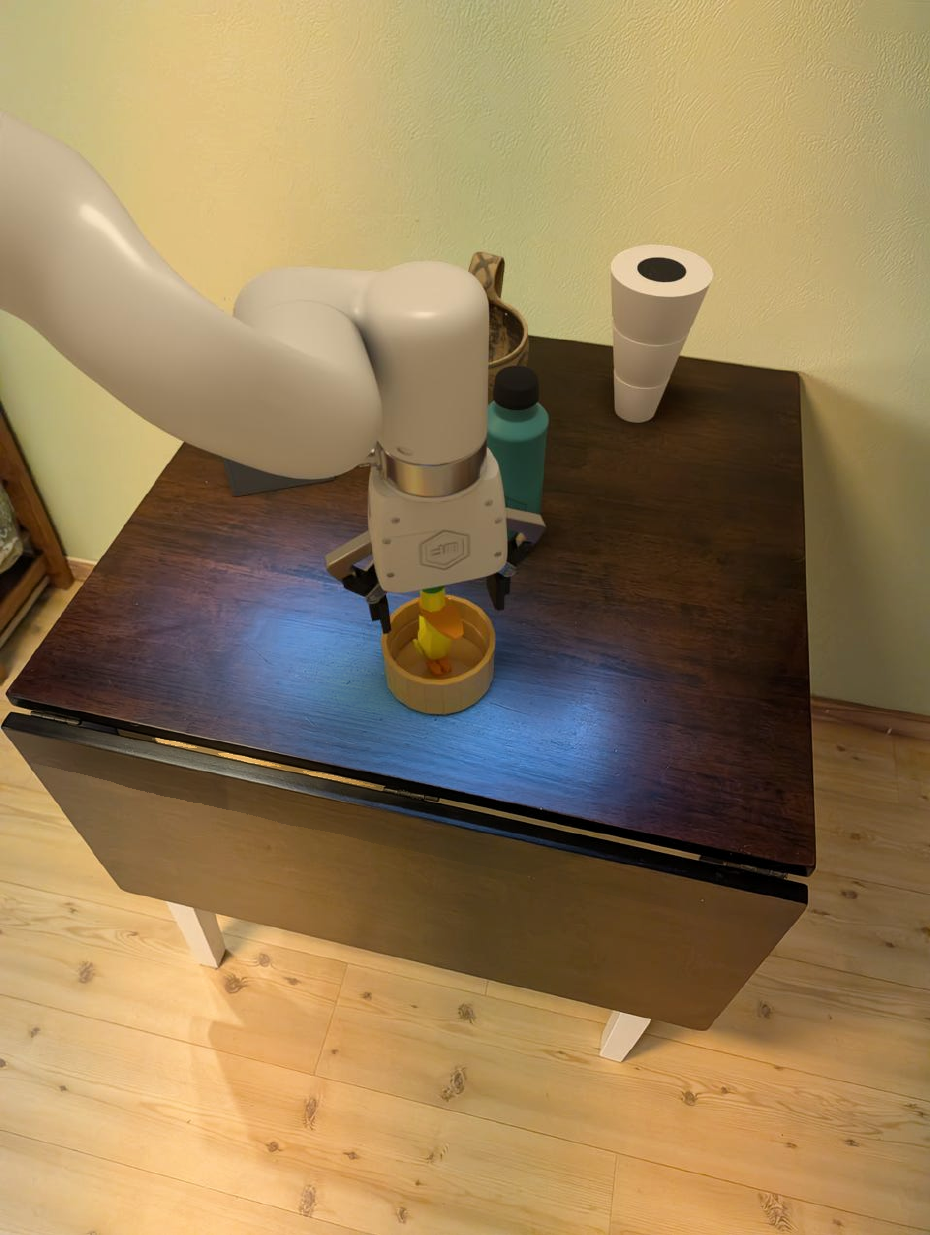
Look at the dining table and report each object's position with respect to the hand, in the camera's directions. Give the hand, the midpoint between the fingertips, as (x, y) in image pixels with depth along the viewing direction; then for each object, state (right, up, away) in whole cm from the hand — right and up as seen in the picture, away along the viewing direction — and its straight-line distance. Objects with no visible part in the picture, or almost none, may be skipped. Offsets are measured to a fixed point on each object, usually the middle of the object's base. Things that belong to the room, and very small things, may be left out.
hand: (440, 609), depth 71 cm
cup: (+23, +24, +32) cm, 46 cm away
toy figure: (0, -6, +7) cm, 9 cm away
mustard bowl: (0, -6, +7) cm, 9 cm away
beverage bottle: (+7, +8, +18) cm, 21 cm away
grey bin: (-19, +18, +26) cm, 37 cm away
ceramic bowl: (+1, +25, +32) cm, 41 cm away
